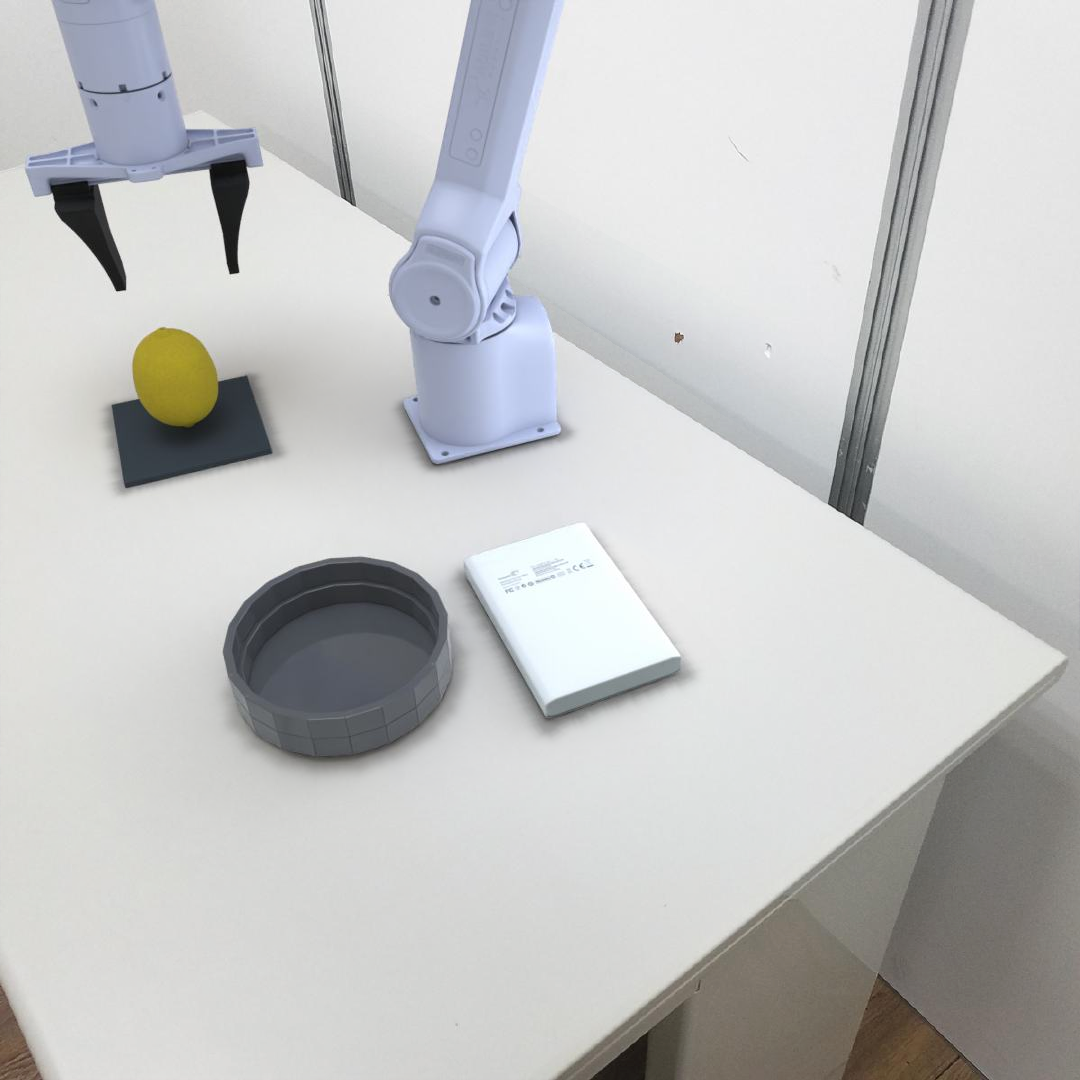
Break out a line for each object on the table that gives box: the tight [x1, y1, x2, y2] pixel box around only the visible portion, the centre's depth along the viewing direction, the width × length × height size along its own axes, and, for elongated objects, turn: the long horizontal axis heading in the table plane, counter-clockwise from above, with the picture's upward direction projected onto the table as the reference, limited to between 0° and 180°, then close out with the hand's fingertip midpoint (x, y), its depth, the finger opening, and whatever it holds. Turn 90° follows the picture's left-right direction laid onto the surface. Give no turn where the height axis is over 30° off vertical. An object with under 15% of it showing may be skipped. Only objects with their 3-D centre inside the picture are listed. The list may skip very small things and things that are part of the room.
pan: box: [222, 556, 453, 757], centre depth 61 cm, size 12×12×3 cm
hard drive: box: [462, 522, 682, 719], centre depth 64 cm, size 2×8×12 cm
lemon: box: [131, 326, 219, 428], centre depth 77 cm, size 6×6×8 cm
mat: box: [111, 375, 273, 488], centre depth 80 cm, size 10×10×1 cm
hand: (177, 275), depth 78 cm, fingers open, 7 cm apart
